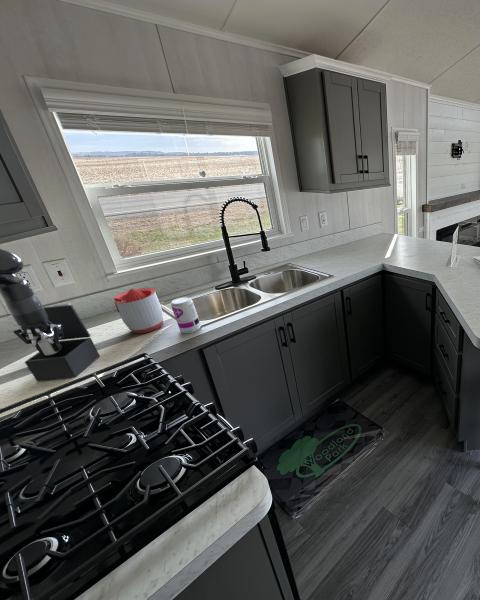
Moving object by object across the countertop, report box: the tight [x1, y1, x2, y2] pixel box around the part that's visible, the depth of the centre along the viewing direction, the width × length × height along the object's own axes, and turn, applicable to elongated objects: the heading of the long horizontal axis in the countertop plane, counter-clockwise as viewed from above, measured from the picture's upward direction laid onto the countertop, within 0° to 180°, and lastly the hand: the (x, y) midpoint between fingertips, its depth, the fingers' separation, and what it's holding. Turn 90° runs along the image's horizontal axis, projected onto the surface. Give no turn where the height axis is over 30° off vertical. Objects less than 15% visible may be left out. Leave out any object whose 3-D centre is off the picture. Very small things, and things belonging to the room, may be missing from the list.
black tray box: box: [24, 337, 101, 382], centre depth 124 cm, size 14×13×9 cm
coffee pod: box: [38, 338, 56, 355], centre depth 118 cm, size 4×4×5 cm
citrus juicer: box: [111, 287, 164, 335], centre depth 148 cm, size 16×17×20 cm
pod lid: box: [43, 302, 91, 341], centre depth 126 cm, size 14×13×5 cm
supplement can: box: [170, 296, 202, 334], centre depth 147 cm, size 8×8×15 cm
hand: (51, 351), depth 119 cm, fingers closed on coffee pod, 4 cm apart
